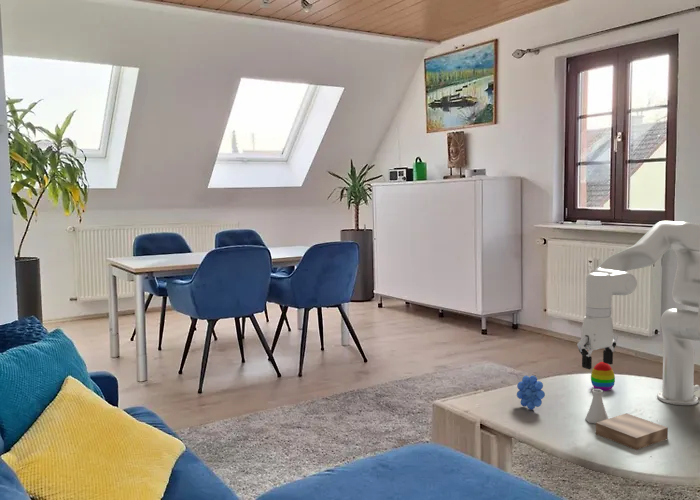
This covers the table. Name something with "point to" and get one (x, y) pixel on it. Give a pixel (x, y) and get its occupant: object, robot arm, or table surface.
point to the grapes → (530, 392)
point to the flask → (596, 408)
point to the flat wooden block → (631, 431)
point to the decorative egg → (602, 377)
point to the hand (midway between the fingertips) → (597, 365)
